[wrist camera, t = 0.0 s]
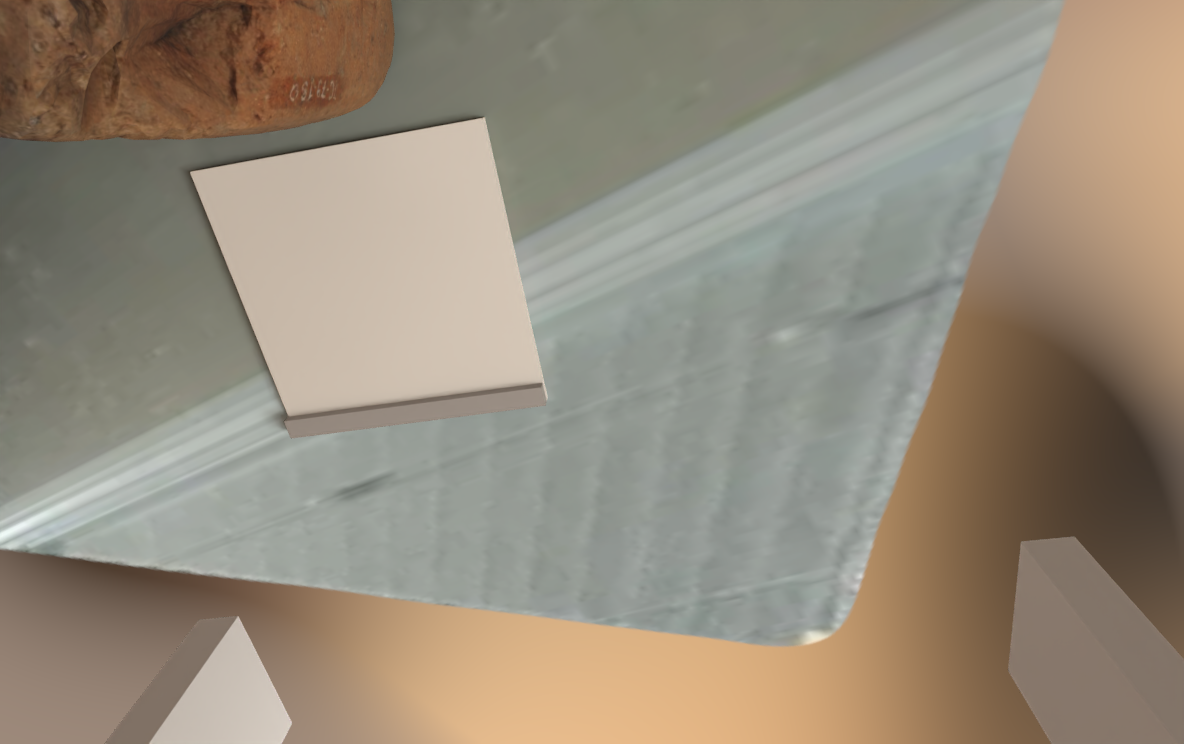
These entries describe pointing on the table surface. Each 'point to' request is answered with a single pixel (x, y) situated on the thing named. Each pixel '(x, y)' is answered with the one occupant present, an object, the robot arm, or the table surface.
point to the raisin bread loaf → (186, 66)
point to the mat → (379, 278)
